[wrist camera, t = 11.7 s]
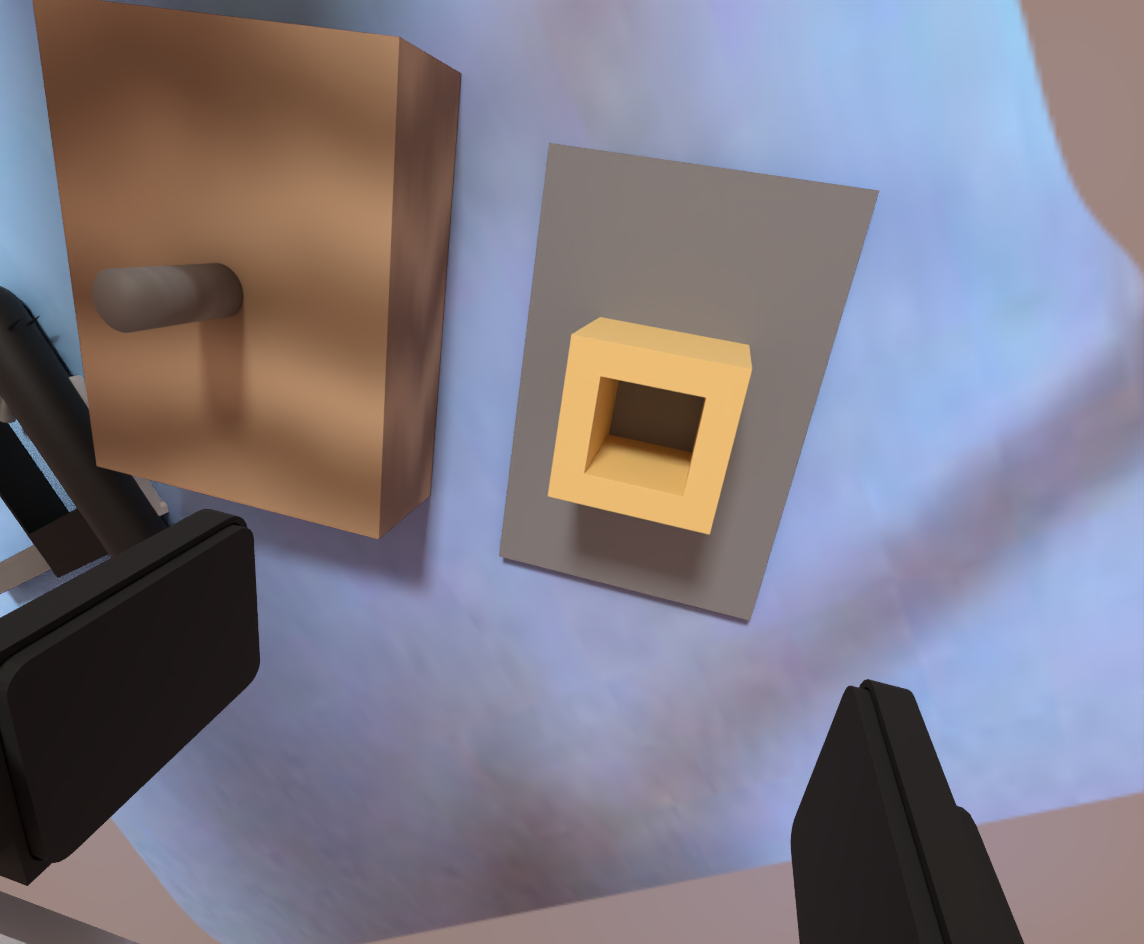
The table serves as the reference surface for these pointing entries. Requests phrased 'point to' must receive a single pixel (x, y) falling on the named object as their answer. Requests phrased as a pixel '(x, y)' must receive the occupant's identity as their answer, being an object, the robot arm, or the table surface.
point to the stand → (255, 252)
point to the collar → (638, 469)
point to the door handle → (59, 463)
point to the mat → (690, 305)
